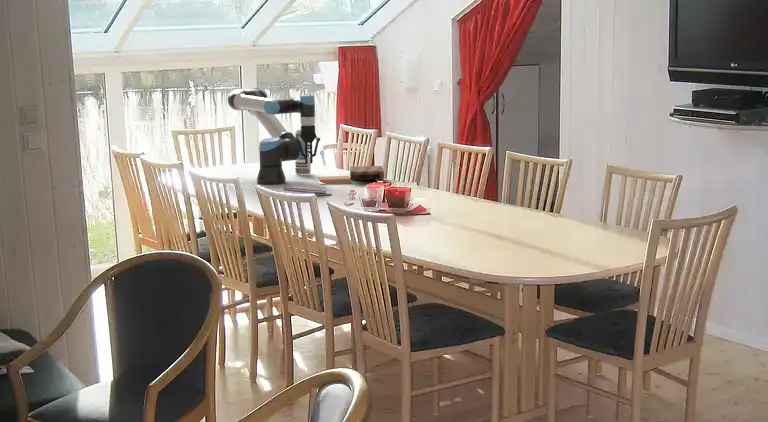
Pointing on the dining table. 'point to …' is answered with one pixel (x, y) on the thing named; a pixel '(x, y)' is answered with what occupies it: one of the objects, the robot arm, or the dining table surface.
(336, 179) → the terracotta tile
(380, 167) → the walnut shelf
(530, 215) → the dining table surface
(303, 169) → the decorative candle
